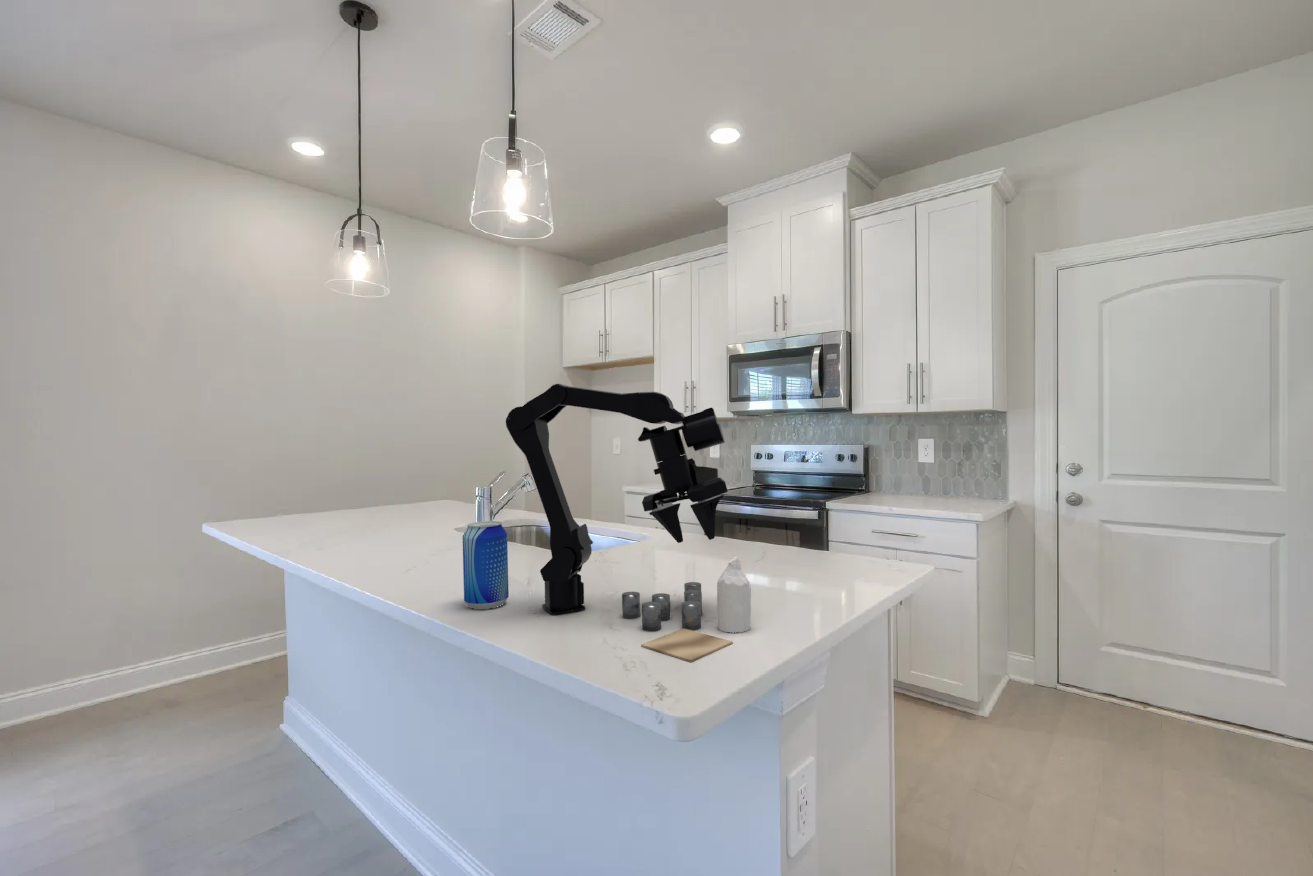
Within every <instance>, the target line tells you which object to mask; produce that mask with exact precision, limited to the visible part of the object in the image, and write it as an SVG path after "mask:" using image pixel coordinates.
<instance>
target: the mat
mask: <svg viewBox="0 0 1313 876" xmlns="http://www.w3.org/2000/svg"><path fill="white" fill-rule="evenodd" d="M733 643H734V641H733V640H729V639H726V638H725V639H724V638H721V637H717V636H713V635H711V634H707V633H702V632H700V631H696V630H688V629H684V628H681V629H678V630H675V631H673V632H670V633H668V634H665V635H663V636H660V637H657V638H655V639H652V640H649V641H647V642H645V643H641V644H640V645H641V647H642V648H644V649H648V650H650V651H653V652H654V651H655V652H657V653H662V654H664V655H667V656H670V657H673V658H676V659H679V660H682V661H686V662H689V663H693V662H695V661H698V660H699V659H702V658H704V657H706V656H708V655H710V654H713V653H715V652H717V651H719V650H721V649H724V648H726V647H728V646H731V645H733Z"/></svg>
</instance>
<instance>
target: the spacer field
mask: <svg viewBox="0 0 1313 876" xmlns="http://www.w3.org/2000/svg"><path fill="white" fill-rule="evenodd" d="M683 587H684V588H683V589H684V591H683V600H684V601H682V602H681V603H680V604H681V629H683V628H684V629H688V630H692V631H696V630H700V629H701V628H702V616H703V596H702V595H703V594H702V593H703V592H702V583H700V582H699V581H697V582H696V581H690V582H685V583H684V585H683ZM640 595H641V594H640V592H638V591H625V592H622V594H621V605H622V606H621V608H622V609H621V611H622V612H621V613H622V618H623V619H627V620H633V619H634V620H635V619H638V618H640V617H641V630H643V632H644V631H645V632H657V631H660V630H661V629H662V622H665V621H669V620H671V594H669V593H664V592H663V593H662V592H661V593H660V592H659V593H653V594H652V595H651V601H647V602H643V603H641V596H640Z"/></svg>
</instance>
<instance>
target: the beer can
mask: <svg viewBox="0 0 1313 876" xmlns="http://www.w3.org/2000/svg"><path fill="white" fill-rule="evenodd" d="M466 526H467V528H466V530H465V531H464V533H463V535H462V565H463V566H462V567H463V569H462V570H463V573H462V574H463V601H464V603H465V604H466V605H467V607H468V606H469V607H470V608H474V609H473V610H475V609H486V610H490V609H489V608H493V609H495V608H494V607H497V606H500V605H502V604H504V603H505V604H506V602H507V600H508V599H509V559H508V558H509V557H508V555H509V553H508V552H509V551H508V532H507V531H506V529H505V528H504V526H503V522H502V521H499V520H498V521H497V520H486V521H485V520H484V521H476V522H470V523H467V524H466ZM505 604H504V605H505ZM469 607H468V608H469ZM500 607H501V606H500ZM470 608H469V609H470ZM497 608H498V607H497Z"/></svg>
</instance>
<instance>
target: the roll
mask: <svg viewBox="0 0 1313 876" xmlns="http://www.w3.org/2000/svg"><path fill="white" fill-rule="evenodd" d="M741 566H742V564H741V561H740V558H739V557H738V556H734V557H733V558H732V559H730V560H729V562H728V563H727V566H726V567H725V568H724V570H723V572H722V573H721V575H720V576H719V577H718V579H717V583H716V596H717V597H716V598H717V599H716V601H717V602H716V603H717V605H716V606H717V628H718V630H719V631H721V632H724V633H727V632H730V633H729V634H737V633H736V632H740V633H744V631H745V632H747V631H749V630H750V629H751V622H752V621H751V620H752V619H751V617H752V613H751V612H752V606H751V605H752V601H751V600H752V588H751V584H750V581H749V580H748V578H747V576H746V574H745V573H744V571H743V570H742V567H741ZM731 632H732V633H731ZM734 632H735V633H734Z"/></svg>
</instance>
